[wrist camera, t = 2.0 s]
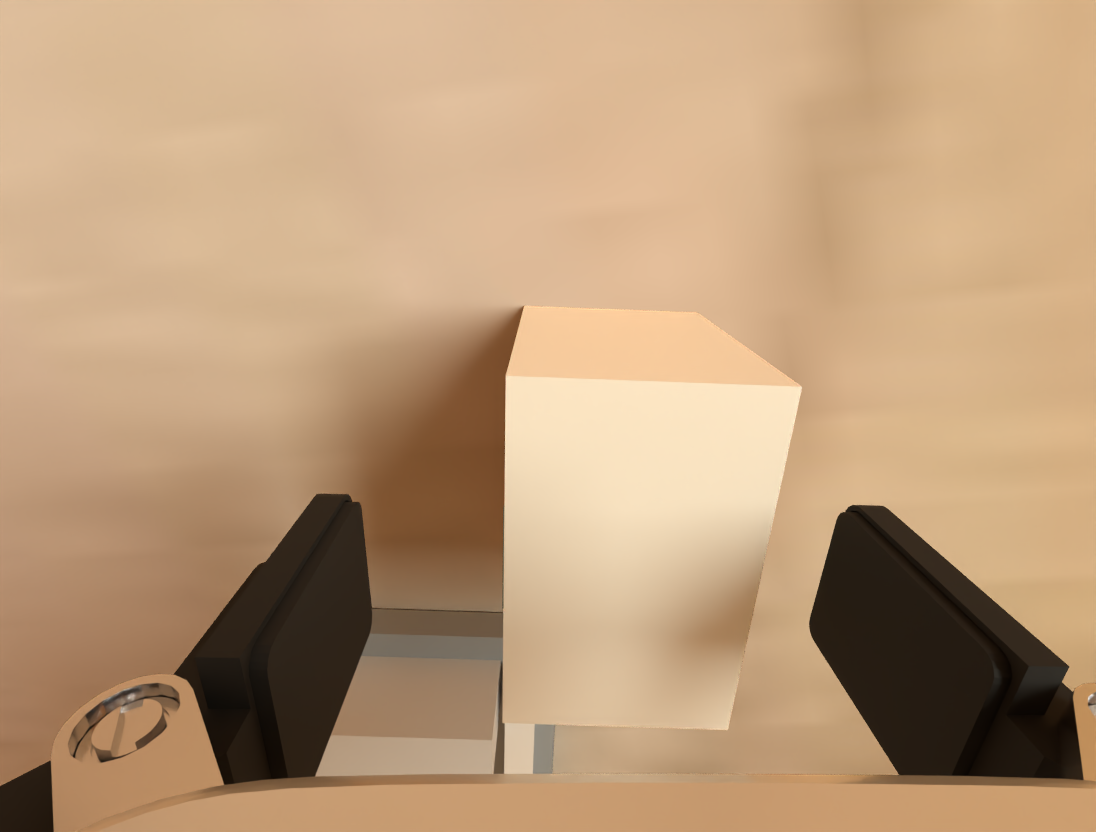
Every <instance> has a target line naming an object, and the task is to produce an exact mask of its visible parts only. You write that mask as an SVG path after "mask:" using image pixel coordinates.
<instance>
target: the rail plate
mask: <svg viewBox="0 0 1096 832" xmlns="http://www.w3.org/2000/svg"><path fill="white" fill-rule="evenodd" d="M502 712H503V613H489V612H459V611H428V610H397V609H372V626H371V631H370V634H369V637H368V639H367V642H366V645H365V647H364V650H363V653H362V655H361V658H360V660H359V663H358V666H357V668H356V671H355V673H354V676H353V679H352V681H351V684H350V687H349V689H348V692H347V694H346V697H345V700H344V702H343V705H342V707H341V710H340V713H339V715H338V718H337V720H336V723H335V726H334V728H333V731H332V734H331V736H330V739H329V741H328V744H327V747H326V749H325V752H324V754H323V757H322V760H321V762H320V765H319V768H318V770H317V773H316V775H315V777H316V776H359V775H408V774H552V767H553V749H554V732H555V725H549V724H516V723H502Z"/></svg>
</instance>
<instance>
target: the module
mask: <svg viewBox="0 0 1096 832" xmlns="http://www.w3.org/2000/svg"><path fill="white" fill-rule="evenodd" d="M801 390H802V386H800V385H799V384H797V383H796V382H795V381H793V380H792V379H790V378H789V377H788V376H786V375H785V374H783V373H782V372H781V371H779V370H778V369H776V368H775V367H774V366H772V365H771V364H769V363H768V362H767V361H765V360H764V359H762V358H761V357H760V356H758V355H757V354H755V353H754V352H752V351H751V350H750V349H748V348H747V347H745V346H744V345H743V344H741V343H740V342H738V341H737V340H736V339H734V338H733V337H731V336H730V335H729V334H727V333H726V332H724V331H723V330H722V329H720V328H719V327H717V326H716V325H715V324H713V323H712V322H710V321H709V320H708V319H706V318H705V317H703V316H702V315H700V314H699V313H698V312H673V311H647V310H621V309H595V308H569V307H543V306H524V309H523V313H522V316H521V320H520V324H519V328H518V331H517V335H516V339H515V343H514V347H513V350H512V354H511V358H510V362H509V365H508V369H507V373H506V403H505V502H504V508H503V712H502V723H516V724H549V725H581V726H614V727H647V728H679V729H712V730H728V727H729V722H730V717H731V713H732V708H733V703H734V699H735V694H736V690H737V685H738V680H739V676H740V671H741V667H742V662H743V657H744V653H745V648H746V644H747V639H748V634H749V630H750V625H751V620H752V616H753V611H754V607H755V602H756V597H757V593H758V588H759V584H760V579H761V574H762V570H763V565H764V560H765V556H766V551H767V547H768V542H769V537H770V533H771V528H772V524H773V519H774V514H775V510H776V505H777V501H778V496H779V491H780V487H781V482H782V477H783V473H784V468H785V464H786V459H787V454H788V450H789V445H790V441H791V436H792V431H793V427H794V422H795V417H796V413H797V408H798V404H799V399H800V394H801Z"/></svg>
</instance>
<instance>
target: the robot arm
mask: <svg viewBox="0 0 1096 832" xmlns="http://www.w3.org/2000/svg"><path fill="white" fill-rule="evenodd" d="M371 626H372V606H371V596H370V586H369V577H368V567H367V557H366V547H365V538H364V528H363V518H362V509H361V505H360V503H359V502H352V500H351V497H350V496H349V495H348V494H317V495H316V496H315V497H314V498H313V500H312V501H311V502H310V504H309V505H308V506H307V508H306V509H305V510H304V512H303V513H302V514H301V516H300V517H299V518H298V520H297V521H296V522H295V524H294V525H293V526H292V528H291V529H290V530H289V532H288V533H287V534H286V536H285V537H284V538H283V540H282V541H281V542H280V544H279V545H278V546H277V548H276V549H275V550H274V552H273V553H272V554H271V556H270V557H269V558H268V560H267V561H266V562H264V563H261V564H259V565H258V566H257V567H256V568H255V569H254V570H253V571H252V573H251V574H250V575H249V577H248V578H247V579H246V581H245V582H244V583H243V585H242V586H241V587H240V588H239V590H238V591H237V592H236V594H235V595H234V596H233V598H232V599H231V600H230V602H229V603H228V604H227V605H226V607H225V608H224V609H223V611H222V612H221V613H220V615H219V616H218V617H217V619H216V620H215V621H214V622H213V624H212V625H211V626H210V628H209V629H208V630H207V632H206V633H205V634H204V636H203V637H202V638H201V639H200V641H199V642H198V643H197V645H196V646H195V647H194V649H193V650H192V651H191V653H190V654H189V655H188V656H187V658H186V659H185V660H184V662H183V663H182V664H181V666H180V667H179V668H178V670H177V671H176V672H175V673H174V675H170V674H154V675H147V676H141V677H138V678H135V679H132V680H129V681H126V682H123V683H120V684H118V685H116V686H114V687H112V688H110V689H108V690H106V691H104V692H102V693H100V694H99V695H97V696H96V697H94V698H93V699H92V700H90V701H89V702H87V703H86V704H85V705H83V706H82V707H80V708H79V709H78V710H77V711H76V712H75V713H74V714H73V715H72V716H71V717H70V718H69V719H68V720H67V721H66V722H65V723H64V725H63V726H62V728H61V730H60V731H59V733H58V734H57V736H56V738H55V739H54V743H53V747H52V752H51V761H49V762H47V763H45V764H43V765H41V766H39V767H37V768H35V769H33V770H31V771H29V772H27V773H25V774H23V775H21V776H19V777H17V778H15V779H14V780H12V781H10V782H8V783H6V784H4V785H2V786H0V832H1096V683H1086V684H1082V685H1080V686H1078V687H1077V688H1075V689H1074V691H1073V692H1072V691H1071V690H1070V689H1069V688H1068V687H1066V686H1065V685H1064V684H1063V683H1062V680H1063V678H1064V676H1065V674H1066V672H1067V670H1068V668H1069V666H1068V665H1067V664H1066V663H1065V662H1063V661H1062V660H1061V659H1060V658H1059V657H1058V656H1057V655H1055V654H1054V653H1053V652H1052V651H1051V650H1050V649H1048V648H1047V647H1046V646H1045V645H1044V644H1043V643H1042V642H1040V641H1039V640H1038V639H1037V638H1036V637H1035V636H1034V635H1032V634H1031V633H1030V632H1029V631H1028V630H1027V629H1025V628H1024V627H1023V626H1022V625H1021V624H1020V623H1019V622H1017V621H1016V620H1015V619H1014V618H1013V617H1012V616H1010V615H1009V614H1008V613H1007V612H1006V611H1005V610H1004V609H1002V608H1001V607H1000V606H999V605H998V604H997V603H996V602H994V601H993V600H992V599H991V598H990V597H989V596H987V595H986V594H985V593H984V592H983V591H982V590H981V589H979V588H978V587H977V586H976V585H975V584H974V583H973V582H971V581H970V580H969V579H968V578H967V577H966V576H964V575H963V574H962V573H961V572H960V571H959V570H958V569H956V568H955V567H954V566H953V565H952V564H951V563H950V562H948V561H947V560H946V559H945V558H944V557H943V556H941V555H940V554H939V553H938V552H937V551H936V550H935V549H933V548H932V547H931V546H930V545H929V544H928V543H926V542H925V541H924V540H923V539H922V538H921V537H920V536H918V535H917V534H916V533H915V532H914V531H913V530H912V529H910V528H909V527H908V526H907V525H906V524H905V523H903V522H902V521H901V520H900V519H899V518H898V517H897V516H895V515H894V514H893V513H892V512H891V511H890V510H889V509H887V508H886V507H884V506H869V505H852V506H850V507H848V509H847V510H846V512H843V513H840V515H839V516H838V518H837V521H836V524H835V528H834V532H833V535H832V539H831V543H830V547H829V550H828V554H827V558H826V561H825V565H824V569H823V572H822V576H821V580H820V583H819V587H818V591H817V594H816V598H815V602H814V605H813V609H812V613H811V617H810V622H809V627H810V632H811V636H812V638H813V640H814V642H815V643H816V645H817V646H818V648H819V649H820V651H821V653H822V654H823V656H824V657H825V659H826V660H827V662H828V664H829V665H830V667H831V668H832V670H833V671H834V673H835V675H836V676H837V678H838V679H839V681H840V682H841V684H842V686H843V687H844V689H845V690H846V692H847V693H848V695H849V697H850V698H851V700H852V701H853V703H854V704H855V706H856V708H857V709H858V711H859V712H860V714H861V715H862V717H863V719H864V720H865V722H866V723H867V725H868V726H869V728H870V730H871V731H872V733H873V734H874V736H875V737H876V739H877V741H878V742H879V744H880V745H881V747H882V748H883V750H884V752H885V753H886V755H887V756H888V758H889V759H890V761H891V763H892V764H893V766H894V767H895V769H896V770H897V772H898V774H899V775H820V774H408V775H359V776H316V777H315V775H316V773H317V770H318V768H319V765H320V762H321V760H322V757H323V754H324V752H325V749H326V747H327V744H328V741H329V739H330V736H331V734H332V731H333V728H334V726H335V723H336V720H337V718H338V715H339V713H340V710H341V707H342V705H343V702H344V700H345V697H346V694H347V692H348V689H349V687H350V684H351V681H352V679H353V676H354V673H355V671H356V668H357V666H358V663H359V660H360V658H361V655H362V653H363V650H364V647H365V645H366V642H367V639H368V637H369V634H370V631H371Z"/></svg>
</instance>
